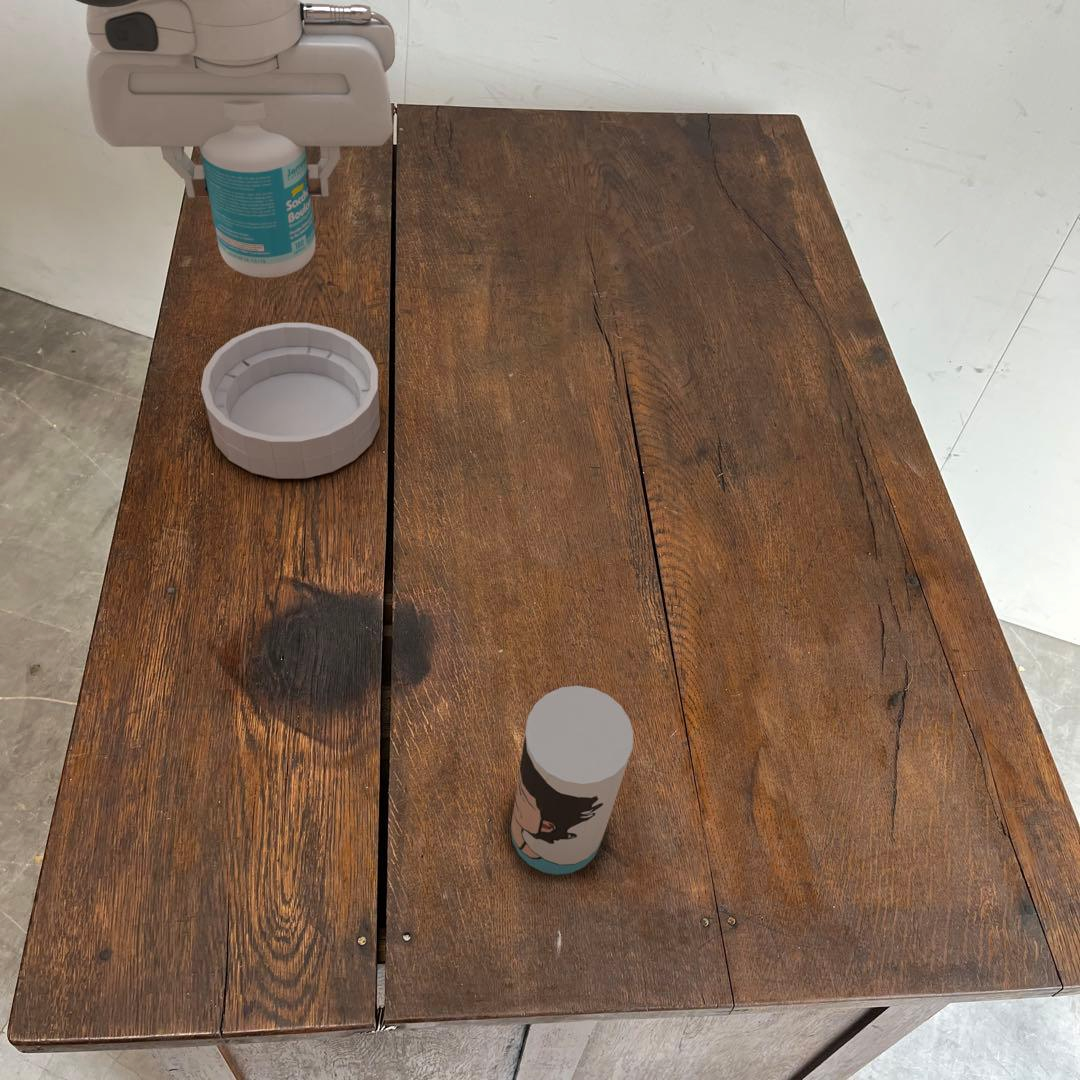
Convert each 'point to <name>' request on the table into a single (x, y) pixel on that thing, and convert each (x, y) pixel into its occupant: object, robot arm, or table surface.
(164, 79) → the robot arm
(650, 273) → the table surface
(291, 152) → the pill bottle
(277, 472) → the faceted round dish
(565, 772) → the printed label cylinder
